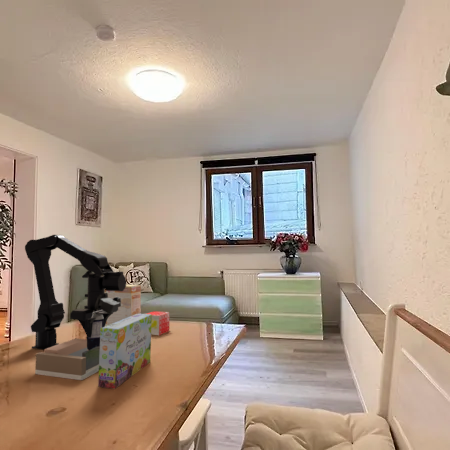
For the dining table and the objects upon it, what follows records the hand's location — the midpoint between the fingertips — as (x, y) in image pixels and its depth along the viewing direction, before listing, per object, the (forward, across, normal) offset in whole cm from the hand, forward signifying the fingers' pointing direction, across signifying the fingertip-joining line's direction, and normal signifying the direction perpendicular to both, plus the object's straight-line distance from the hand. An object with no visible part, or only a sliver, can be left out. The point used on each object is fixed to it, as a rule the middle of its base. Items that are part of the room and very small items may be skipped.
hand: (95, 335), depth 119 cm
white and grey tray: (+5, -15, -7) cm, 17 cm away
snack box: (+5, -16, -24) cm, 29 cm away
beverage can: (+5, 0, 0) cm, 5 cm away
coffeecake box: (+5, +29, +9) cm, 31 cm away
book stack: (+4, -15, -2) cm, 16 cm away
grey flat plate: (+4, -15, -13) cm, 20 cm away
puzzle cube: (+5, +29, -8) cm, 31 cm away
